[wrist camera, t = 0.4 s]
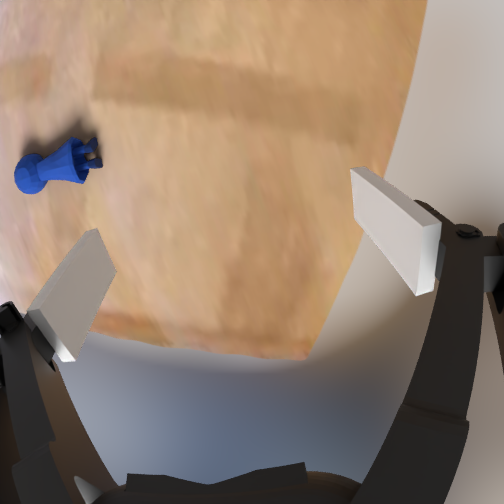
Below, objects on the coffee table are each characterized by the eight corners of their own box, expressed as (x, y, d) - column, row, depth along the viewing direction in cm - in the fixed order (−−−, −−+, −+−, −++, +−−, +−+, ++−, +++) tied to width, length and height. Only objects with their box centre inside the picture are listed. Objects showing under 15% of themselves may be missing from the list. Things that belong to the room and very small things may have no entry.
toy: (96, 128, 37) (18, 155, 36) (79, 134, 32) (-4, 166, 31) (106, 173, 40) (29, 195, 40) (91, 185, 35) (9, 209, 34)
